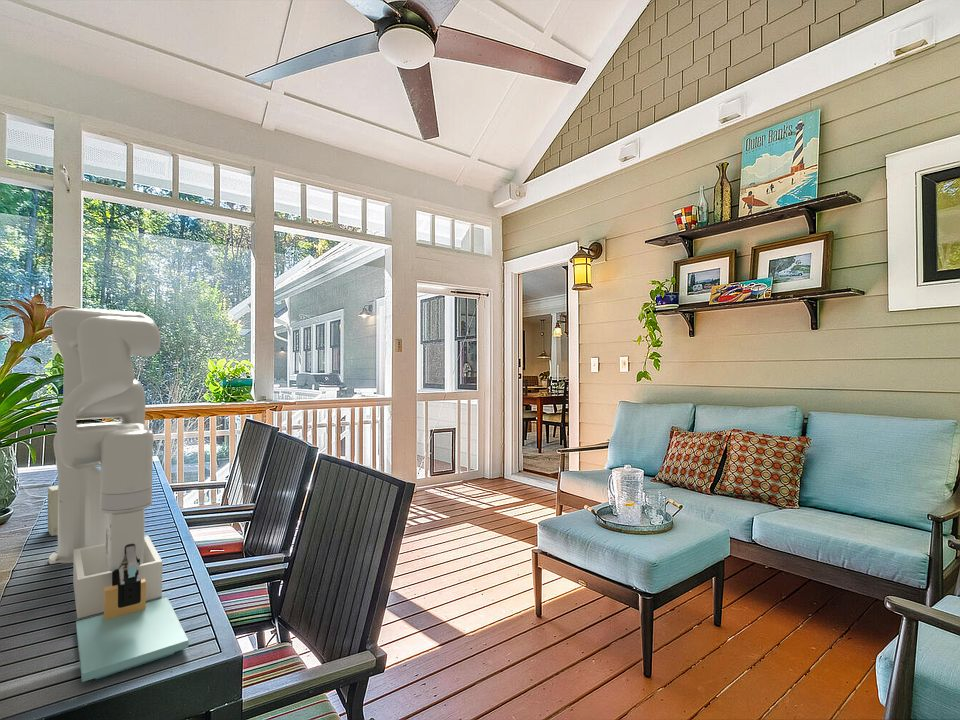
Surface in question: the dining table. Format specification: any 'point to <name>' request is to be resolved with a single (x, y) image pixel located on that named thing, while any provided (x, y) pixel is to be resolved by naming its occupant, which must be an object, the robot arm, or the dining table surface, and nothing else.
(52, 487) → the skincare box
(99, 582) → the tub
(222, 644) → the dining table surface
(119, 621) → the lid
